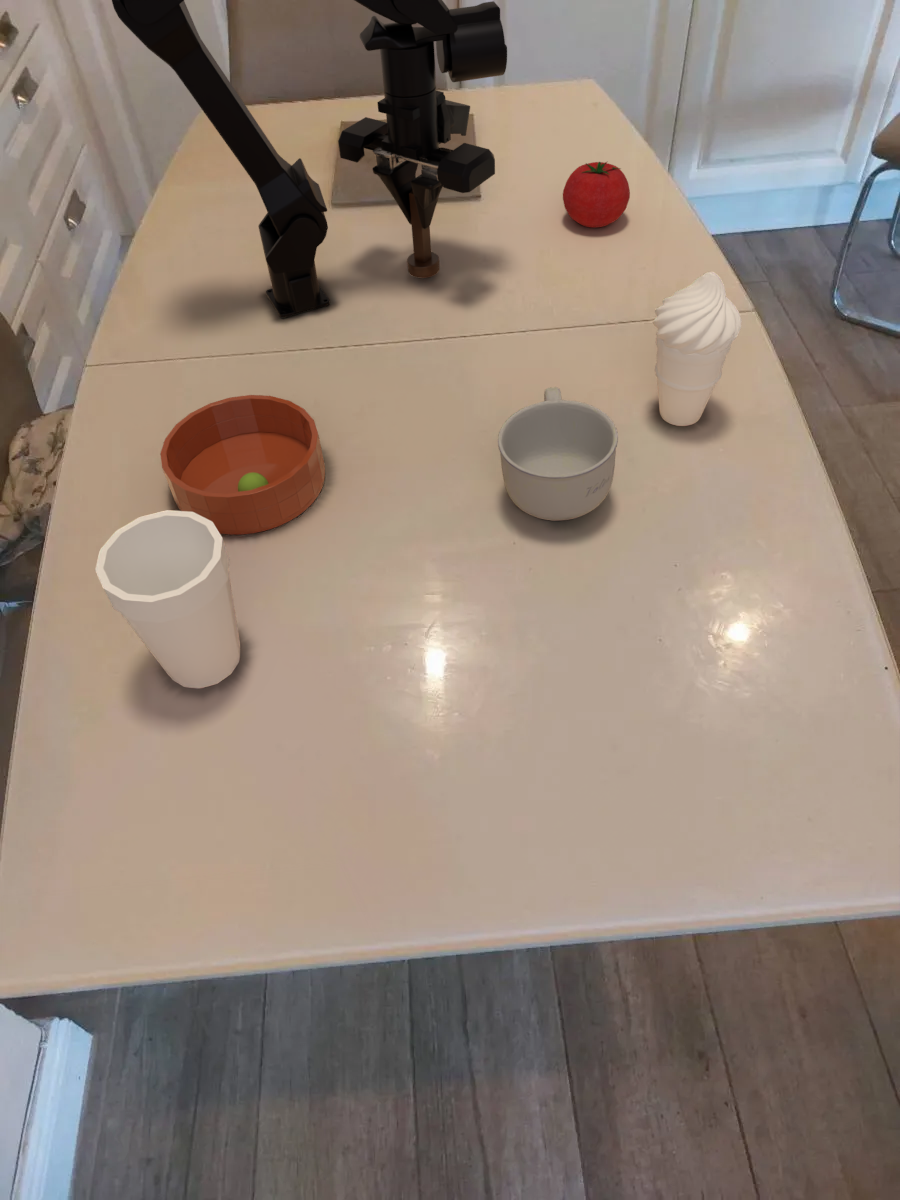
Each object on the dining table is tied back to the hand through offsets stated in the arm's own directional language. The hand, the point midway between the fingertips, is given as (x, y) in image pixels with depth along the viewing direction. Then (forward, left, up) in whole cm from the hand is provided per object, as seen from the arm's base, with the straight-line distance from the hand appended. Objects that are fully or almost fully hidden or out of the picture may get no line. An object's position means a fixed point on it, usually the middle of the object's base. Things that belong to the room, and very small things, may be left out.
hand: (420, 225), depth 111 cm
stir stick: (0, 0, -6) cm, 6 cm away
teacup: (+42, -4, -7) cm, 43 cm away
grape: (+31, -31, -5) cm, 44 cm away
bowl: (+27, -31, -7) cm, 42 cm away
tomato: (-2, +26, -7) cm, 27 cm away
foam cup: (+47, -41, -7) cm, 63 cm away
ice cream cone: (+38, +13, -7) cm, 41 cm away
